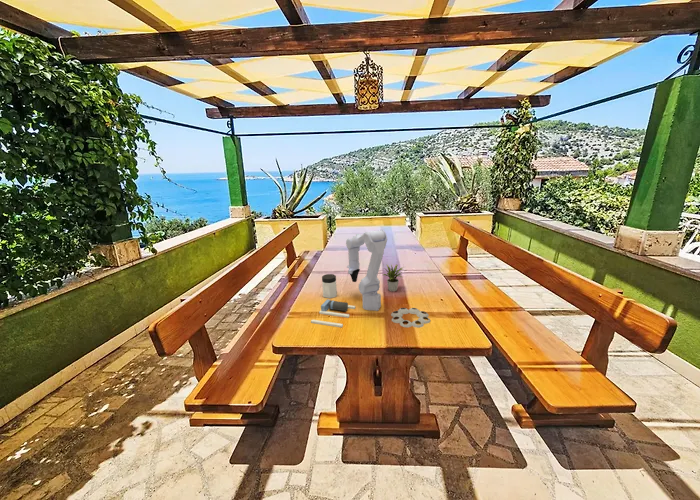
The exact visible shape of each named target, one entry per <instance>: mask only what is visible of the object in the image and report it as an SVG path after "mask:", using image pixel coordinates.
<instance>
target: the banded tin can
mask: <svg viewBox="0 0 700 500" xmlns="http://www.w3.org/2000/svg"><path fill="white" fill-rule="evenodd" d="M348 305H349V304H348V302H343V301H339V300H338V301H336V300H331V301H330V302H329V309H328V310H334V311H335V310H336V311H341V312H347V311H348V309H349V308H348Z"/></svg>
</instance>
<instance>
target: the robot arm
mask: <svg viewBox="0 0 700 500" xmlns="http://www.w3.org/2000/svg"><path fill="white" fill-rule="evenodd" d="M387 242H388V236H387V233H386V231H385V230H384V229H380V230H374V231H365V232H363V234H359V233H358V234H355V236H352V237H351V238H346V241H345V245H346V248H347V250H348V265H347V266H346V268H348V270H347V274H348V275H350V277H351V281H352V283H357V281H358V276H359V273H360V271H361V269H360V258H359V257H360V256H359V253H360V248H361V246H363V245H364V244H365V246H366V249H367V251H368V252H369V253H371V256H370V258H369V262H368V263H369V264H368V267H367V272H366V274H365V275H366V276H364V277H363V278H362V279H360V282H359V283H358V290H359V293H360V294H361V297H362V299H361V300H362V309H363V310H364V311H365V310H366V311H376V312H378V311H379V310H380V308H381V307H382V303H381V302H382V296H381V293H378V291H379V290H380V287H381V286H380V280H379V278H378V274H379V270H380V267H381V263H382V261H383V257H384V254H385V253H384V252H385V249H386V246H387Z"/></svg>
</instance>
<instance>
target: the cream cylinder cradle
mask: <svg viewBox="0 0 700 500" xmlns="http://www.w3.org/2000/svg"><path fill="white" fill-rule="evenodd" d="M330 301H332V300H331V299H329V298H326V300H325V301H324V302H323V303H322V304H321V305H320V310H319V311H318V314H319V315H326V316H333V317H334V316H335V317H340V318H346V319H347V318H350V314H349V313H343V312H342V313H341V312H335V311H334V312H333V311H328V310H330V309H329V302H330ZM348 309H351V310H355V309H356V305H350V304H348ZM310 323H311V324H316V325H323V326H328V327H329V326H330V327H337V328H340V329H341V328H343V326H344V325H343V323H337V322H333V321H332V322H331V321H325V320H317V319H311V320H310Z"/></svg>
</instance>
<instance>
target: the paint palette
mask: <svg viewBox="0 0 700 500" xmlns="http://www.w3.org/2000/svg"><path fill="white" fill-rule="evenodd" d="M407 314H411V315H416V317H418V318H417V319H415V320H413V321H412V322H411V321H410V320H407V319H406V320H405V319H404V318H403V316H404V315H407ZM390 315H391V317H392V318H391V322H393V323H395V324H399V325H400V327H403V328H411V327H413V328H423V327H424V326H425V325H427V324H430V323H431V319H430V318H429V316H430V314H428V312H426V311H423V310H422V311H421V310H420V309H418V308H415V307H411V308H409V309H408V308H406V307H400V308H399V309H398V310H396V311H395V310H394V311H392V312H391V314H390ZM395 318H397V319H395ZM424 318H425V319H424ZM427 319H428V320H427ZM403 322H408V323H407V324H406V323H405V324H404V323H403ZM417 322H419V323H420V324H417ZM424 324H425V325H424Z"/></svg>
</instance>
